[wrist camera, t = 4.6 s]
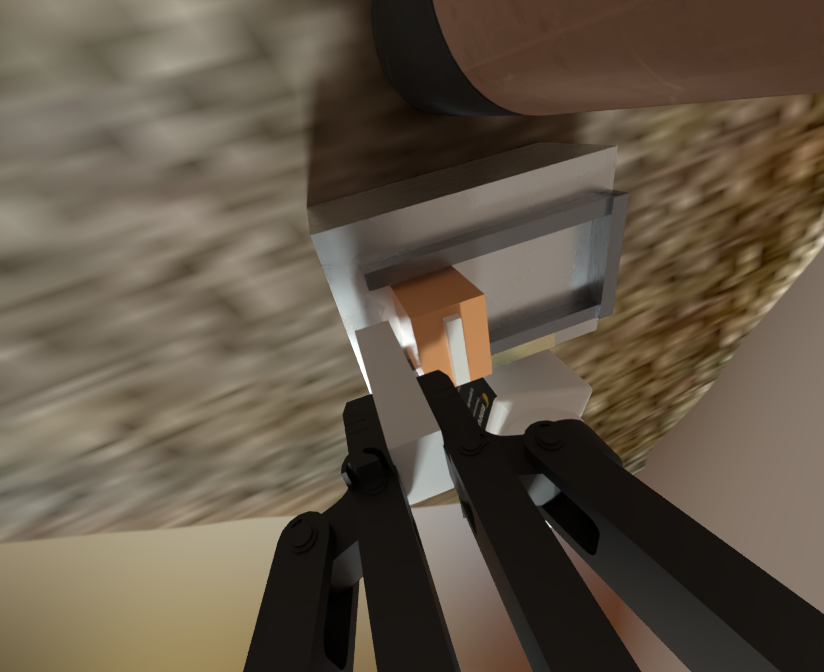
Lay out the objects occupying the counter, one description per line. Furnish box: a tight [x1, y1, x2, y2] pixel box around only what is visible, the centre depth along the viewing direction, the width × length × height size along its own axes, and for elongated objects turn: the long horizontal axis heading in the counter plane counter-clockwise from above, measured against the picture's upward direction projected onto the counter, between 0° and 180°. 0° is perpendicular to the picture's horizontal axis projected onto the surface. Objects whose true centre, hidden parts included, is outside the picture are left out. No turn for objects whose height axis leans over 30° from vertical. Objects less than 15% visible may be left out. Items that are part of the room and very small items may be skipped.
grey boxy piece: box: [307, 142, 629, 394], centre depth 19 cm, size 10×14×7 cm
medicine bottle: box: [456, 349, 623, 527], centre depth 23 cm, size 7×7×12 cm
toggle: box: [389, 265, 492, 387], centre depth 15 cm, size 4×3×4 cm
